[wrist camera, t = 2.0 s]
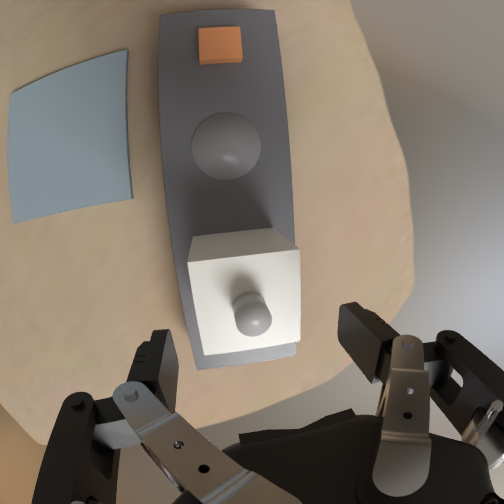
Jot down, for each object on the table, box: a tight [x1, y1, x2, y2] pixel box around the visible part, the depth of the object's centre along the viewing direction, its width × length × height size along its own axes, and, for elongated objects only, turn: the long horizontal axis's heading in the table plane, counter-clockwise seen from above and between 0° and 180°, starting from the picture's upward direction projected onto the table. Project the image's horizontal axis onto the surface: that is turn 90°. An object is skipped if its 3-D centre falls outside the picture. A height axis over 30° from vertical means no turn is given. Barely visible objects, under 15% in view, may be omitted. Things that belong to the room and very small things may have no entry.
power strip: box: [158, 9, 296, 370], centre depth 20 cm, size 30×9×5 cm, turn 4°
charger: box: [187, 228, 300, 355], centre depth 18 cm, size 6×6×10 cm
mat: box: [7, 50, 133, 224], centre depth 18 cm, size 14×14×1 cm
